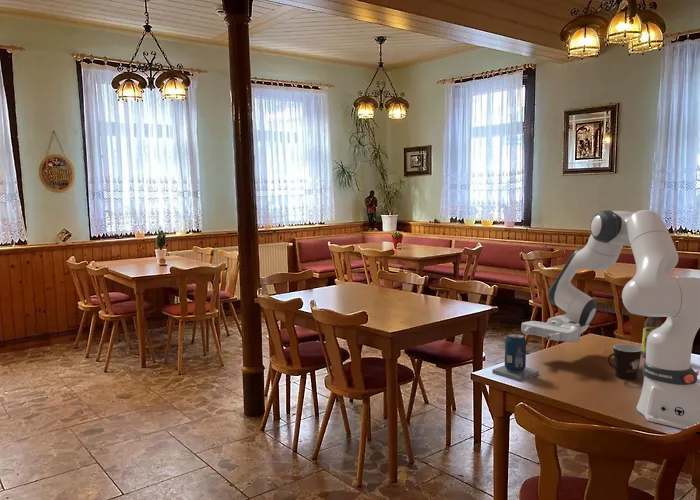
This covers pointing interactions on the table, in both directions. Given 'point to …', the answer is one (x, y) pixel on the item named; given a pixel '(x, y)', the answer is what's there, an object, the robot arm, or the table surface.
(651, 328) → the sauce bottle
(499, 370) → the slate board
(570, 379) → the table surface
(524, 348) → the soda can
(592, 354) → the table surface
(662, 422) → the robot arm
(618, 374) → the coffee mug
